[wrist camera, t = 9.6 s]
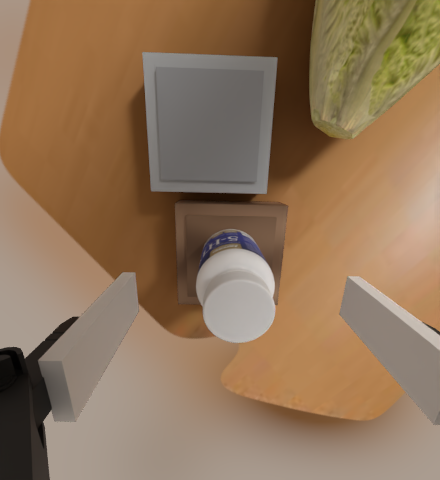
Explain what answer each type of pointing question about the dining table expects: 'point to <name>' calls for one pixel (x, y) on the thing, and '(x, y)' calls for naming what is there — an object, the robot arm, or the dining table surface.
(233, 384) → the dining table surface
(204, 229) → the stand
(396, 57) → the lettuce
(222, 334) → the pill bottle
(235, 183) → the stand
